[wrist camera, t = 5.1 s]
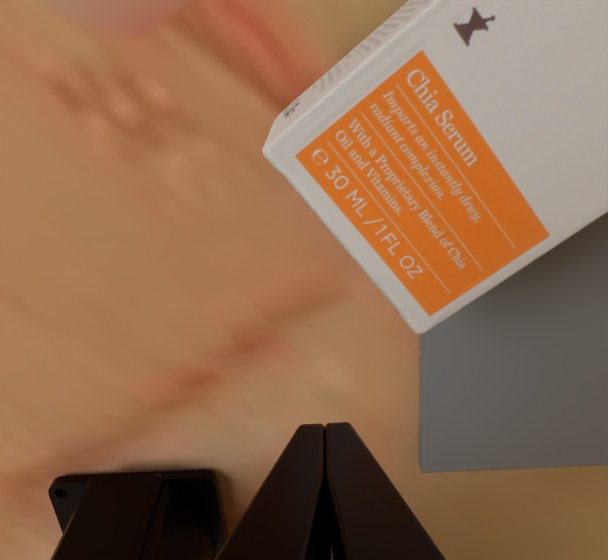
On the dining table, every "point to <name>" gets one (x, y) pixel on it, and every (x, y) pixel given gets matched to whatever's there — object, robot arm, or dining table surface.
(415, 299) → the skincare box
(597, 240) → the mat
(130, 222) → the dining table surface
